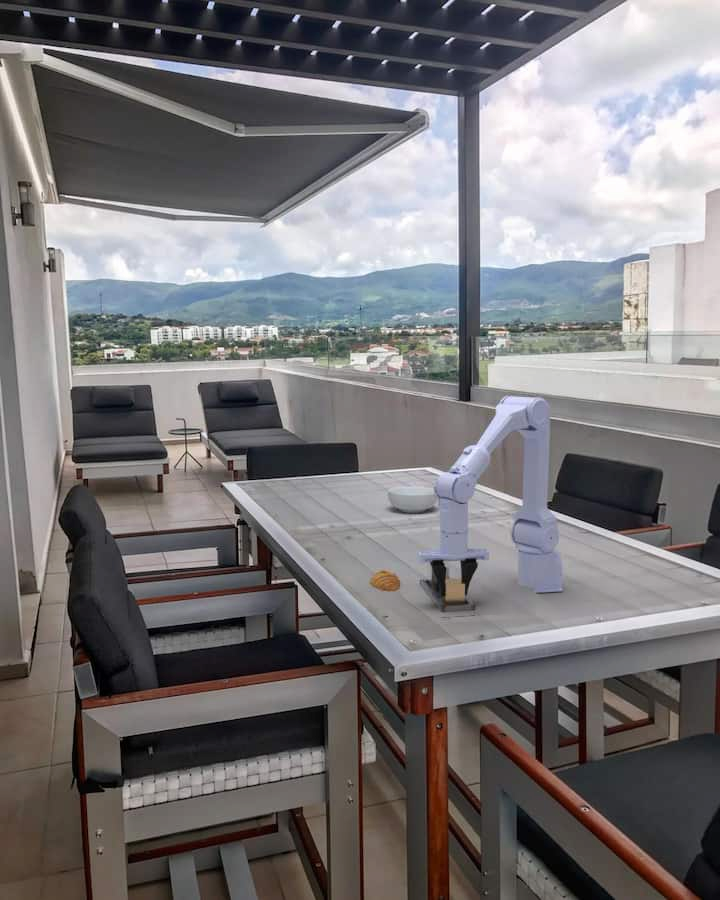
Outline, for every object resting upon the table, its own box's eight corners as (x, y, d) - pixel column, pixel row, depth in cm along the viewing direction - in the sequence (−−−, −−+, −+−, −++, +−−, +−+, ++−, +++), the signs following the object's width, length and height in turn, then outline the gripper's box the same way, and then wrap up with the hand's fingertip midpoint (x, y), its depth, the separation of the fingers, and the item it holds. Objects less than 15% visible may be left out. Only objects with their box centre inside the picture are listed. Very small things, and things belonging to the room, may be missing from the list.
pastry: (406, 596, 181) (406, 579, 181) (377, 598, 180) (376, 581, 179) (395, 584, 190) (395, 568, 190) (367, 586, 189) (366, 570, 188)
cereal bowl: (422, 517, 263) (422, 496, 262) (378, 512, 272) (378, 491, 271) (446, 508, 277) (446, 488, 276) (404, 504, 286) (404, 484, 285)
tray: (449, 587, 186) (449, 578, 186) (475, 615, 167) (475, 605, 166) (419, 589, 185) (419, 579, 185) (441, 617, 166) (441, 607, 165)
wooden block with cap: (458, 599, 174) (458, 576, 173) (464, 607, 169) (464, 583, 168) (439, 599, 174) (439, 577, 173) (445, 608, 168) (445, 584, 167)
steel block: (444, 584, 185) (444, 562, 184) (450, 591, 180) (451, 569, 179) (427, 585, 184) (427, 563, 184) (433, 592, 179) (433, 569, 178)
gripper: (482, 525, 173) (481, 587, 175) (415, 528, 171) (415, 591, 173) (492, 532, 166) (491, 597, 168) (422, 535, 164) (422, 601, 166)
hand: (453, 594), depth 170 cm, fingers closed on wooden block with cap, 4 cm apart
